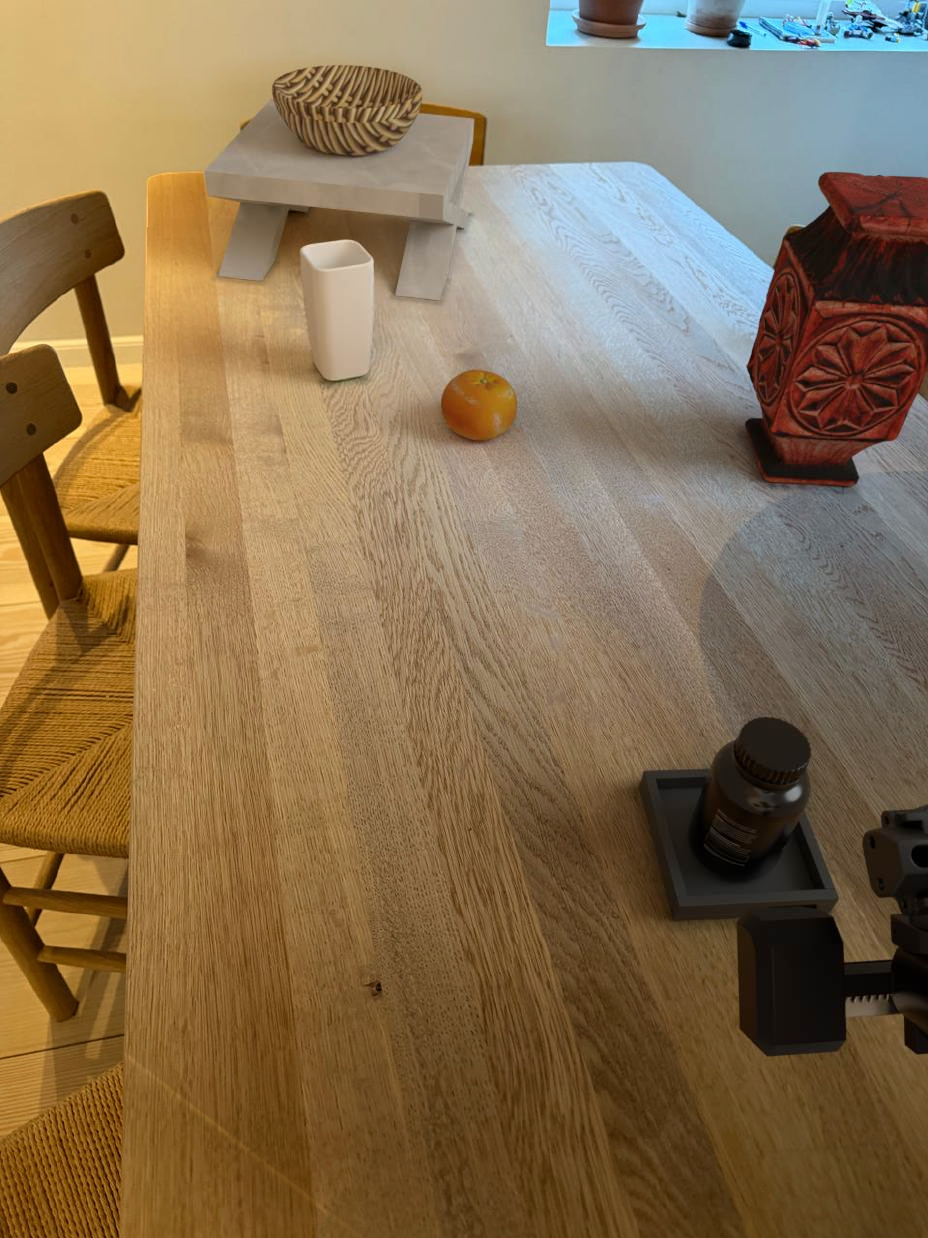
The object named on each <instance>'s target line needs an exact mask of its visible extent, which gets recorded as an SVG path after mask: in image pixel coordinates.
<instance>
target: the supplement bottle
mask: <svg viewBox="0 0 928 1238" xmlns="http://www.w3.org/2000/svg"><path fill="white" fill-rule="evenodd" d="M811 757H812V747H811V742H809V740H808V737H806V736H805V734H804V732H802V731H801V730H800V729H799V728H798V727H797V726H795V725H794V724H793V723H790V722H788V721H787V720H782V719H781V718H776V717H774V716H771V717H769V716H764V717H763V716H762V717H761V716H760V717H757V718H753V719H751V720H748V721H747V723H744V725H743V726H742V727H741V728H740V730H739V732H738V736H737V737H736V739H734V740H731V741H729V742H728V743H726V744H724V745H722V746H721V748H720V749H719V750H718V751H717V752H716V754H715V755H714V757H713V759H712V762H711V764H710V766H709V768H708V769H709V772H708V775H707V777H706V780H705V783H704V785H703V788H702V791H701V794H700V796H699V799H698V802H697V805H696V807H695V810H694V813H693V815H692V819H691V822H690V825H689V832H688V835H689V842H690V845H691V848H692V850H693V852H694V854H695V855H696V857H697V858H698V860H699V861H700V862H701V863H702V864H703V865H704V866H705V867H706V868H707V869H709V870H710V871H712V872H713V873H715V874H717V875H719V876H721V877H723V878H726V879H729V880H734V881H753V880H757V879H760V878H762V877H764V876H765V875H767V874H768V873H770V872H771V871H772V870H773V869H774V867H775V866H776V864H777V862H778V861H779V859H780V857H781V855H782V853H783V851H784V849H785V847H786V845H787V843H788V841H789V839H790V837H791V835H792V833H793V831H794V829H795V827H796V825H797V823H798V821H799V819H800V817H801V815H802V813H803V811H804V810H805V809H806V806H807V804H808V802H809V800H810V797H811V791H812V785H811V778H810V776H809V772H808V770H807V769H808V766H809V764H810V762H811Z"/></svg>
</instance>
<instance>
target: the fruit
mask: <svg viewBox="0 0 928 1238" xmlns="http://www.w3.org/2000/svg"><path fill="white" fill-rule="evenodd" d="M440 410H441V414H442V417H443V419H444V421H445V423H446V425H447V426H448V427H449V428H450V429H451V430H452V431H453V432H454V433H456V434H458V435H459V436H461V437H463V438H466V439H468V440H471V441H489V440H492V439H495V438H497V437H499V436H501V435H503V434H505V433H506V432H507V431H508V430H509V429H510V428H511V426H512V425H513V423H514V422H515V420H516V417H517V413H518V397H517V394H516V391H515V390H514V388H513V386H512V385H511V384H510V382H509V381H508V380H507V379H505V378H504V377H503V376H501V375H499V374H498V373H495V372H494V371H493V372H492V371H488V370H484V369H469V370H466V371H463V372H460V373H459V374H458V375H456V376H455V377H452V379H451V380H450V381H449V382H448V383H446V386H445V388H444V389H443V392H442V395H441V399H440Z"/></svg>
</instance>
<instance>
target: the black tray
mask: <svg viewBox="0 0 928 1238" xmlns="http://www.w3.org/2000/svg"><path fill="white" fill-rule="evenodd" d="M709 769H710V768H688V769H660V770H659V769H658V770H657V769H656V770H643V773H642V775H641V779H640V782H639V785H638V788H639V793H640V796H641V801H642V804H643V809H644V813H645V816H646V820H647V824H648V828H649V831H650V836H651V840H652V843H653V847H654V851H655V855H656V859H657V863H658V866H659V867H658V868H659V871H660V875H661V878H662V882H663V886H664V891H665V894H666V899H667V902H668V906H669V910H670V914H671V917H672V921H673V922H679V921H699V920H700V921H701V920H717V919H737V918H738V919H739V918H740V917H741V916H742V915H743V914H744V913H745V912H746V910H747V909H760V908H768V907H777V906H794V905H811V904H816V905H817V909H819V910H823V911H825V912H826V913H828V914H830V913H831V912H832V911H833V909H834V908H835V906H836V905H837V903H838V901H839V900H840V896H839V893H838V891H837V889H836V886H835V884H834V881H833V878H832V876H831V873H830V871H829V868H828V866H827V864H826V861H825V858H824V856H823V853H822V851H821V849H820V846H819V843H818V840H817V839H816V835H815V833H814V830H813V828H812V825H811V823H810V821H809V818H808V815H807V813H806V810H805V809H804V811H803V813H802V815H801V817H800V819H799V821H798V823H797V825H796V827H795V829H794V831H793V833H792V835H791V837H790V839H789V841H788V843H787V845H786V847H785V849H784V851H783V853H782V855H781V857H780V859H779V861H778V862H777V864H776V866H775V867H774V869H773V870H772V871H771V872H770V873H768V874H767V875H765V876H764V877H762V878H760V879H757V880H753V881H734V880H729V879H726V878H723V877H721V876H719V875H717V874H715V873H713V872H712V871H710V870H709V869H707V868H706V867H705V866H704V865H703V864H702V863H701V862H700V861H699V860H698V858H697V857H696V855H695V854H694V852H693V850H692V848H691V845H690V842H689V835H688V832H689V825H690V822H691V819H692V815H693V813H694V810H695V807H696V805H697V802H698V799H699V796H700V794H701V791H702V788H703V785H704V783H705V780H706V777H707V775H708V772H709Z"/></svg>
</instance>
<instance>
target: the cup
mask: <svg viewBox="0 0 928 1238" xmlns="http://www.w3.org/2000/svg"><path fill="white" fill-rule="evenodd" d="M299 258H300V259H299V260H300V273H301V284H302V295H303V304H304V313H305V320H306V328H307V332H308V338H309V344H310V350H311V353H312V354H311V355H312V359H313V363H314V366H315V367H316V369H317V370H318V372H319V373H320V374H321V376H322V377H323V378H324V379H326V380H327V381H329V382H333V383H336V382H343V381H349V380H352V379H357V378H358V379H359V378H361V377H363V376H365V375H366V374H368V373H369V371H370V365H371V364H370V363H371V357H372V346H373V335H374V316H375V314H374V313H375V268H374V267H375V264H374V263H375V262H374V258H373V256H372V255H371V254H370V253H369V252H368V251H367V249H365V248H364V246H362V245H361V244H360V242H358V241H356V240H353V239H339V240H331V241H324V242H317V243H310V244H306V245H304V246H302V247H301V248H300V250H299Z"/></svg>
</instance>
